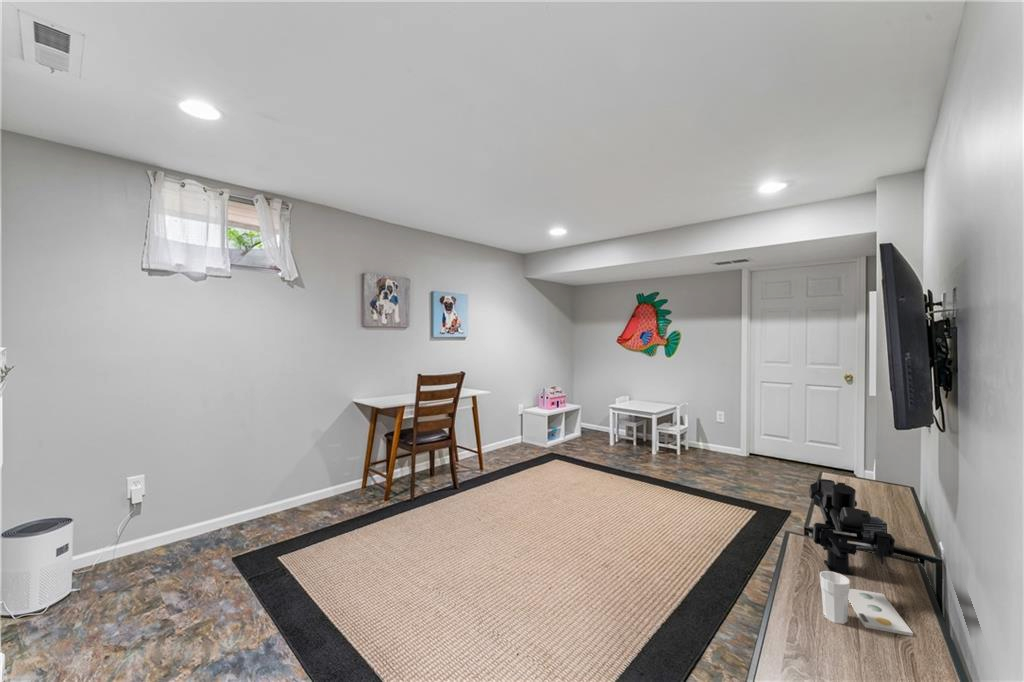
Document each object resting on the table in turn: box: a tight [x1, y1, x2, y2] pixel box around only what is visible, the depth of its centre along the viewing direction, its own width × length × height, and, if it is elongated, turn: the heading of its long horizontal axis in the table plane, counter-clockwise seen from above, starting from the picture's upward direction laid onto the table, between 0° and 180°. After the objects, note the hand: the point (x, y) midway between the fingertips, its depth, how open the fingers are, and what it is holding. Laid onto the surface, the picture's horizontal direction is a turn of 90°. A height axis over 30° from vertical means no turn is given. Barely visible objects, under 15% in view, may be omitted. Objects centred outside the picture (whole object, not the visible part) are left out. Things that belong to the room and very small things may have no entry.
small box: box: [856, 516, 888, 553], centre depth 155 cm, size 11×6×10 cm, turn 74°
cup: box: [819, 570, 851, 625], centre depth 117 cm, size 7×7×11 cm
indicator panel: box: [848, 588, 914, 637], centre depth 120 cm, size 18×10×1 cm, turn 158°
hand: (861, 559), depth 119 cm, fingers open, 9 cm apart
